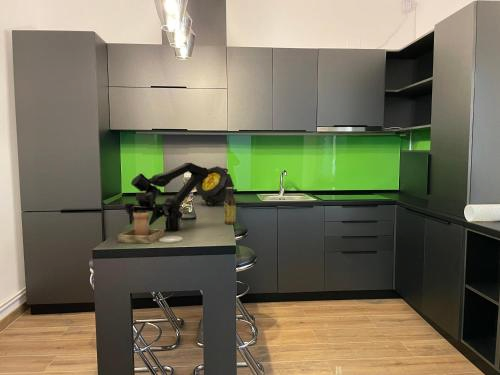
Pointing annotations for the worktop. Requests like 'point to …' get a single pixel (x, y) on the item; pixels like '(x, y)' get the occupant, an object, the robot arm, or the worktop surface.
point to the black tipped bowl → (215, 186)
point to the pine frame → (132, 238)
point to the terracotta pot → (141, 223)
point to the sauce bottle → (229, 207)
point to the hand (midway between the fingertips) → (139, 224)
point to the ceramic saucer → (170, 239)
